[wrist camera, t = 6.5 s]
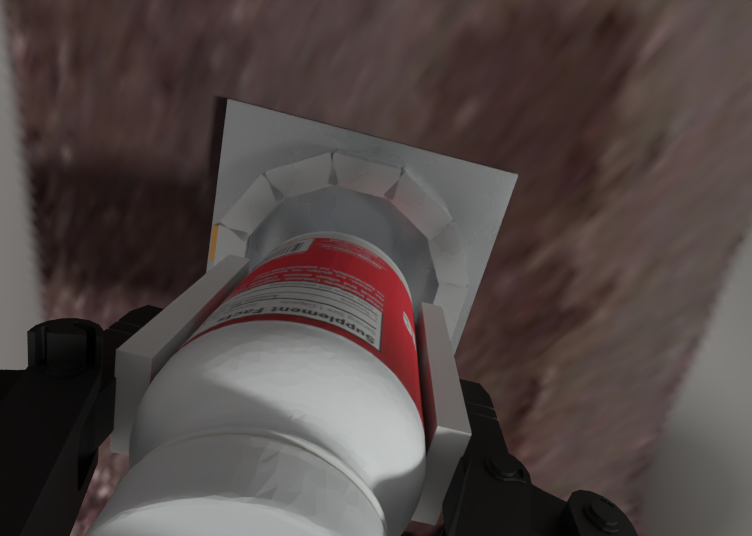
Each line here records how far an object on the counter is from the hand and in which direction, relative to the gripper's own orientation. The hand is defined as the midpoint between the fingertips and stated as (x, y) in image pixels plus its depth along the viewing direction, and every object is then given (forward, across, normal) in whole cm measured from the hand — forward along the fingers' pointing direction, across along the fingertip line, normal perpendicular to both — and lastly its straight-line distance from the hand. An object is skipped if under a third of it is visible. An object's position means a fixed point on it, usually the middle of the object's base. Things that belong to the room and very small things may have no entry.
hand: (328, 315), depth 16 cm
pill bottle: (+1, 0, 0) cm, 1 cm away
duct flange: (+5, 0, 0) cm, 5 cm away
